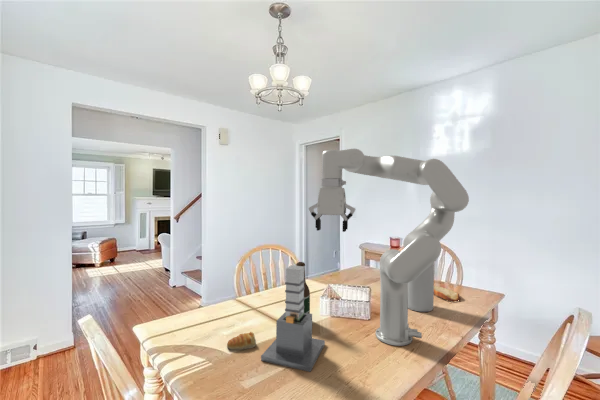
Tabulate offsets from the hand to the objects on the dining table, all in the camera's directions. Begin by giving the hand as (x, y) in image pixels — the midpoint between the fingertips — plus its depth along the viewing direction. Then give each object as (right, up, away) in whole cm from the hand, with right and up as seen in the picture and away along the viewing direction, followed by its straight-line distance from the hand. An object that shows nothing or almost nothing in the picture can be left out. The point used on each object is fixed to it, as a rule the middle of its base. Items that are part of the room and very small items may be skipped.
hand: (331, 230), depth 104 cm
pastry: (-31, -39, -8) cm, 50 cm away
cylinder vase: (+43, -39, +27) cm, 64 cm away
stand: (-13, -38, -12) cm, 42 cm away
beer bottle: (-11, -38, +11) cm, 41 cm away
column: (-13, -29, -12) cm, 34 cm away
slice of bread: (+63, -39, +44) cm, 86 cm away
